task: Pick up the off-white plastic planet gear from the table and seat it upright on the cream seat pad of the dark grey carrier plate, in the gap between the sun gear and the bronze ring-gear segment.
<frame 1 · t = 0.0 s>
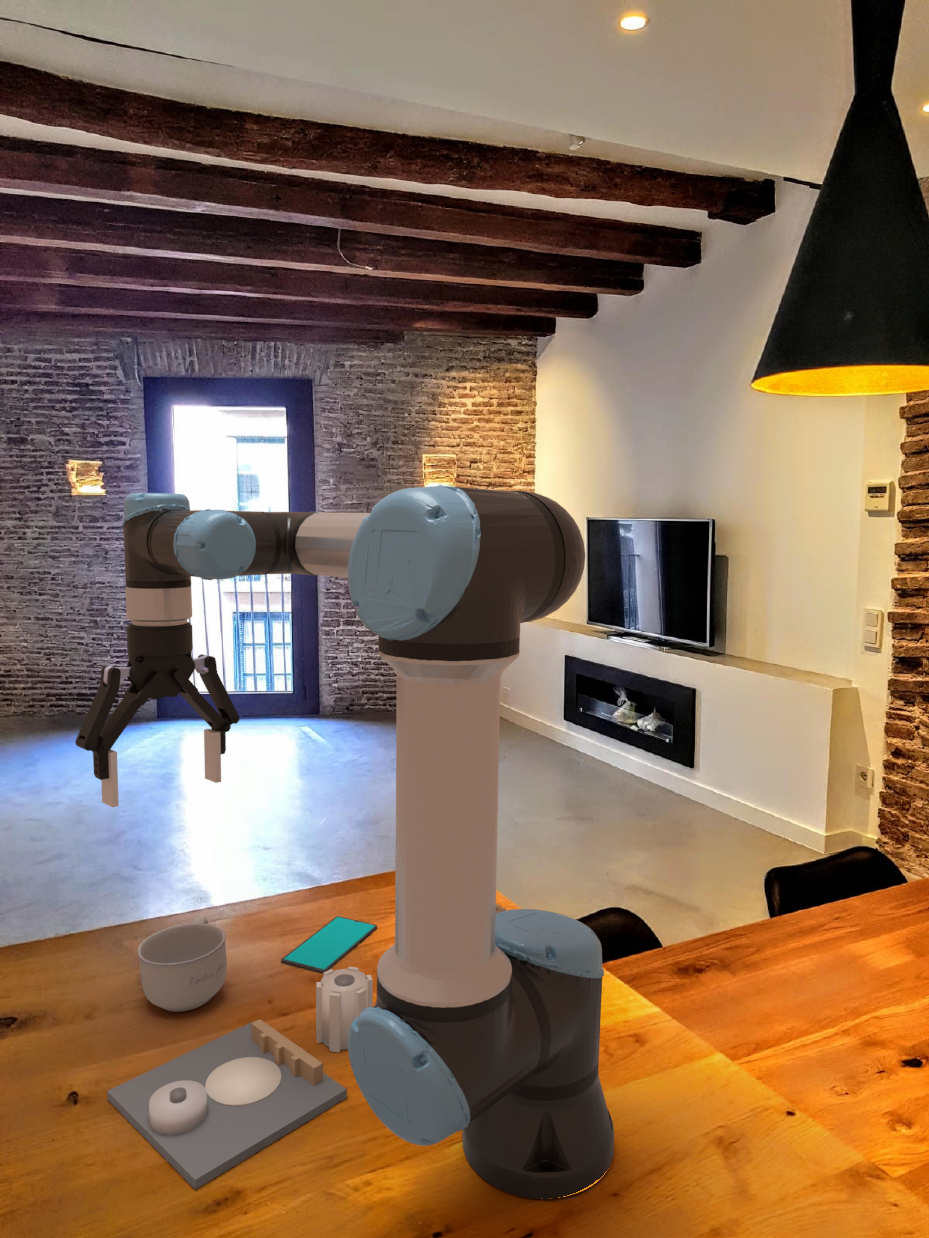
hand: (164, 791, 108), 28 cm above the table, tool pointing down, fingers open, 13 cm apart
teacup: (189, 993, 114), on the table
carrier plate: (227, 1098, 93), on the table
lion figurine: (457, 965, 122), on the table
smartphone: (331, 948, 127), on the table
planet gear: (344, 1035, 105), on the table
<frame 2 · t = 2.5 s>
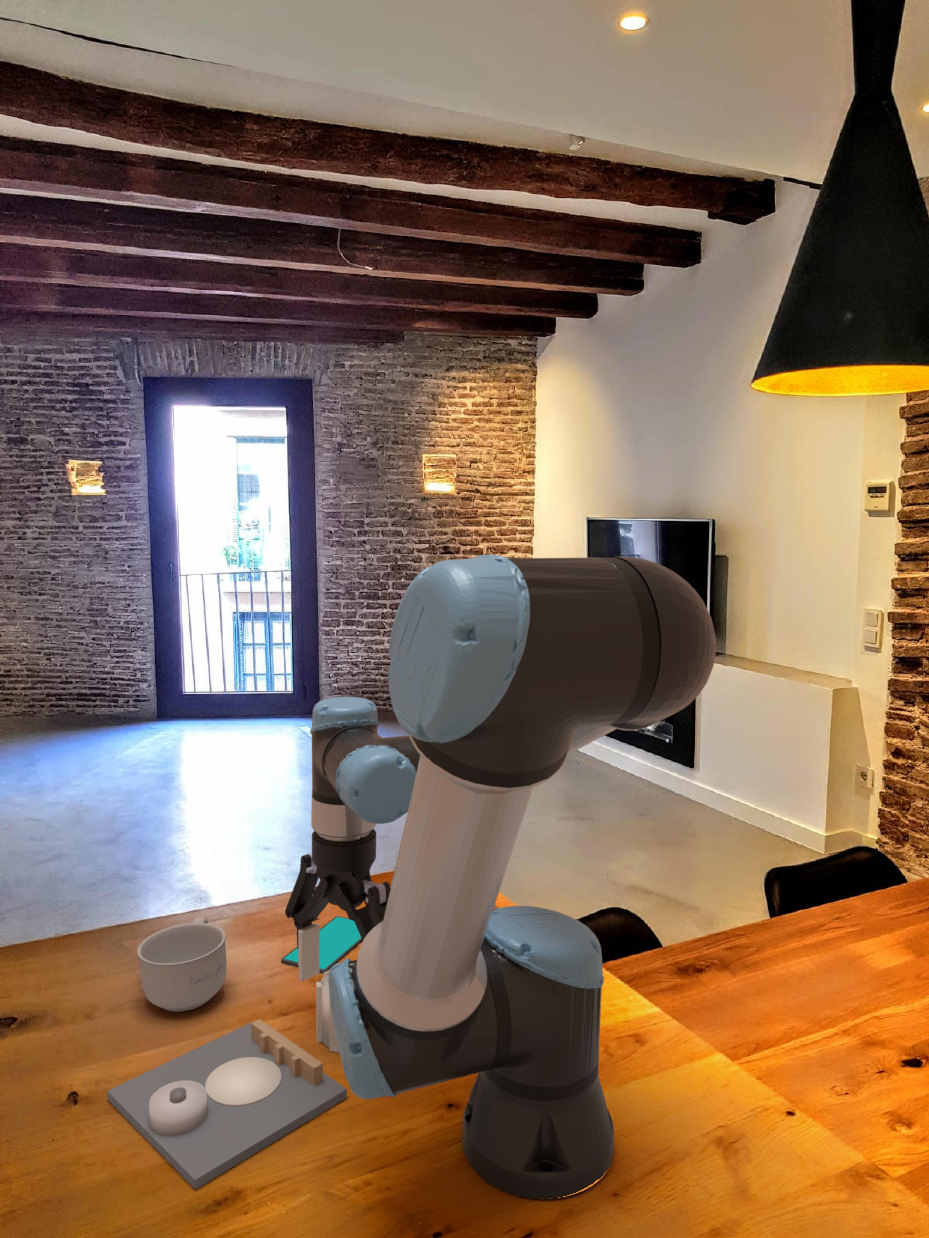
hand: (343, 998, 105), 5 cm above the table, tool pointing down, fingers open, 13 cm apart
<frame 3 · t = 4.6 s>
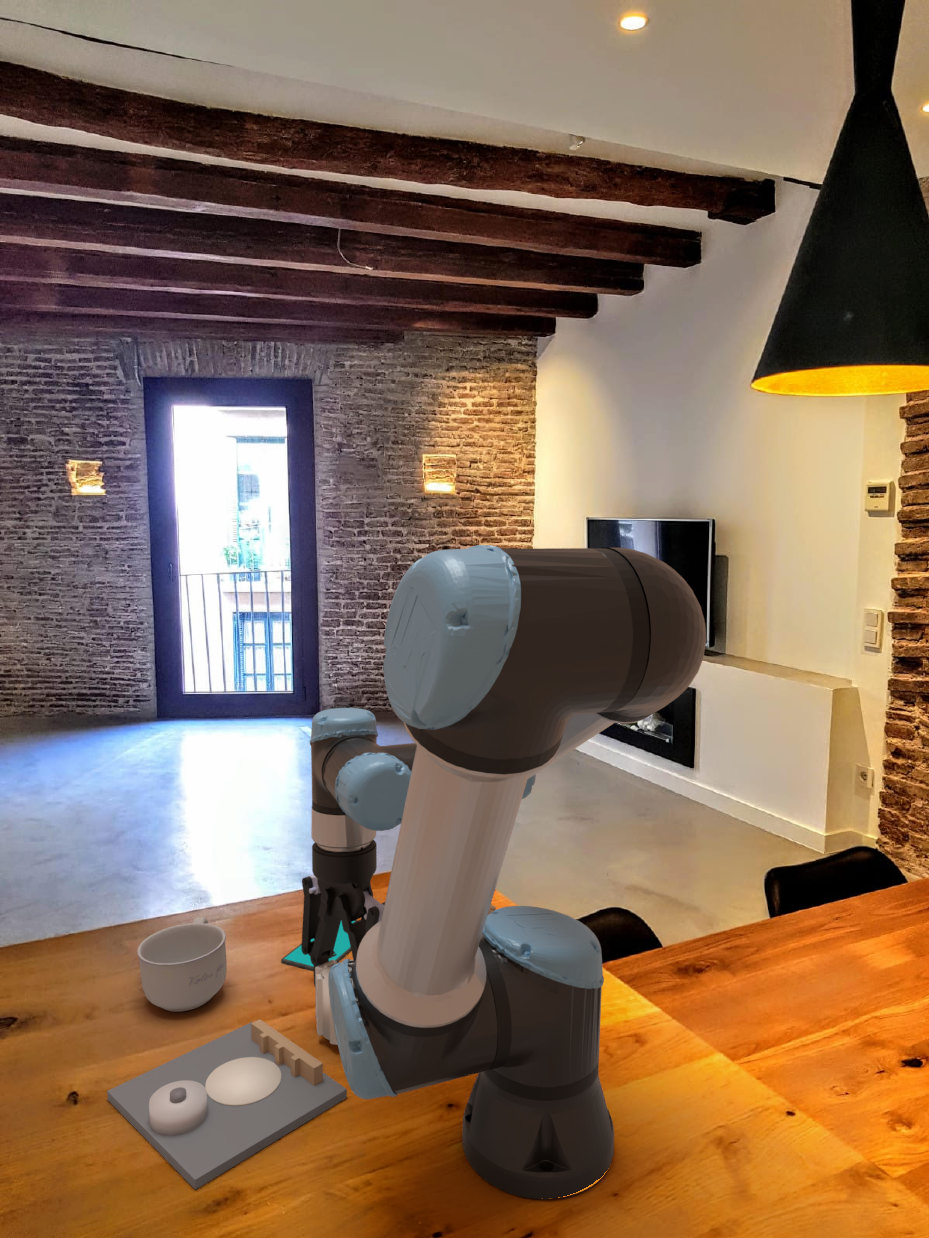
hand: (345, 1026, 104), 1 cm above the table, tool pointing down, fingers closed on planet gear, 7 cm apart
planet gear: (345, 1028, 104), point 1 cm above the table, touching gripper
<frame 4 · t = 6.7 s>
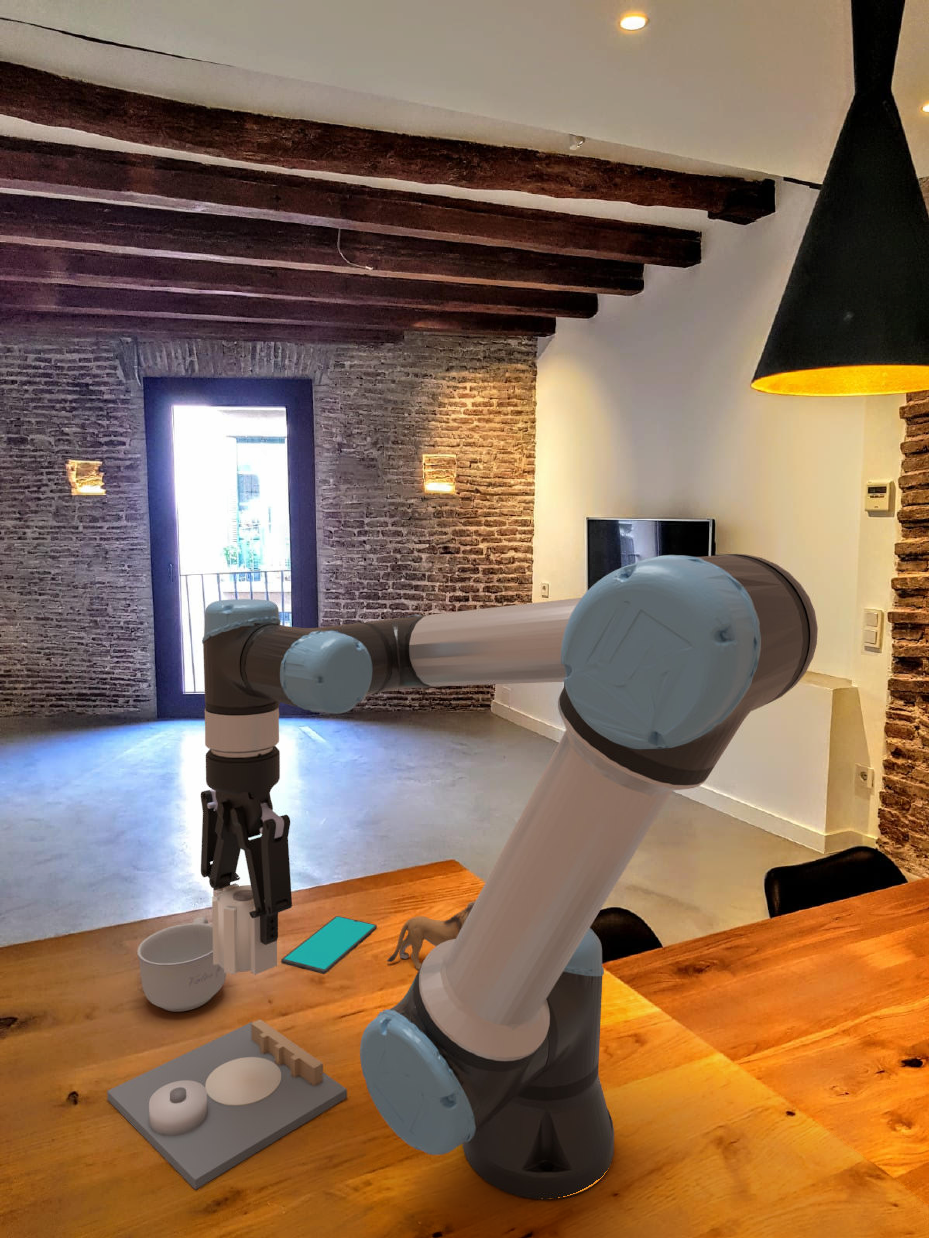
hand: (245, 955, 94), 15 cm above the table, tool pointing down, fingers closed on planet gear, 7 cm apart
planet gear: (244, 958, 94), point 15 cm above the table, touching gripper
when the fingers open (3 cm above the table, at t = 8.8 s): planet gear drops 1 cm, resting on carrier plate.
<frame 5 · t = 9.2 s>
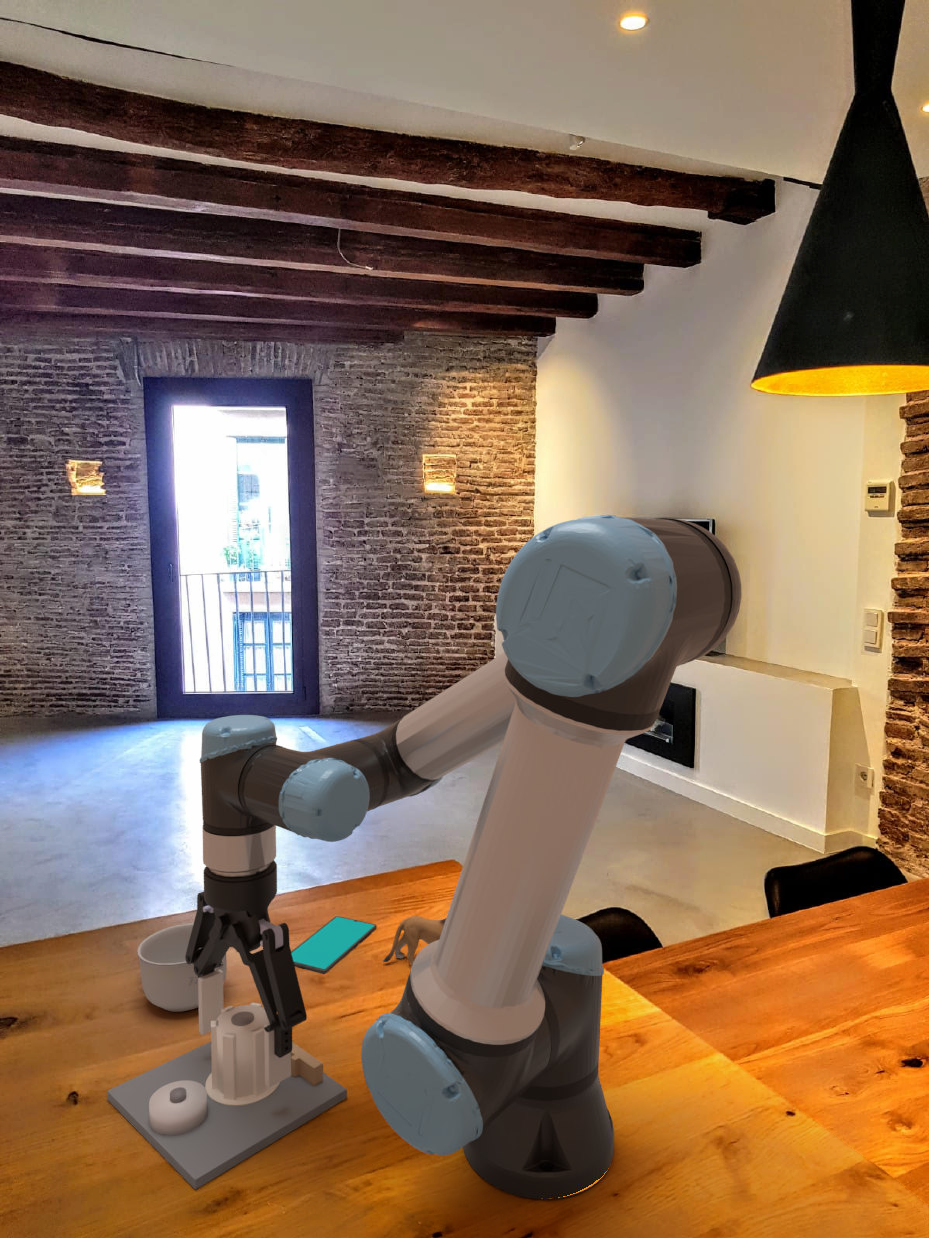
hand: (243, 1053, 94), 4 cm above the table, tool pointing down, fingers open, 12 cm apart
planet gear: (243, 1079, 95), point 1 cm above the table, touching carrier plate
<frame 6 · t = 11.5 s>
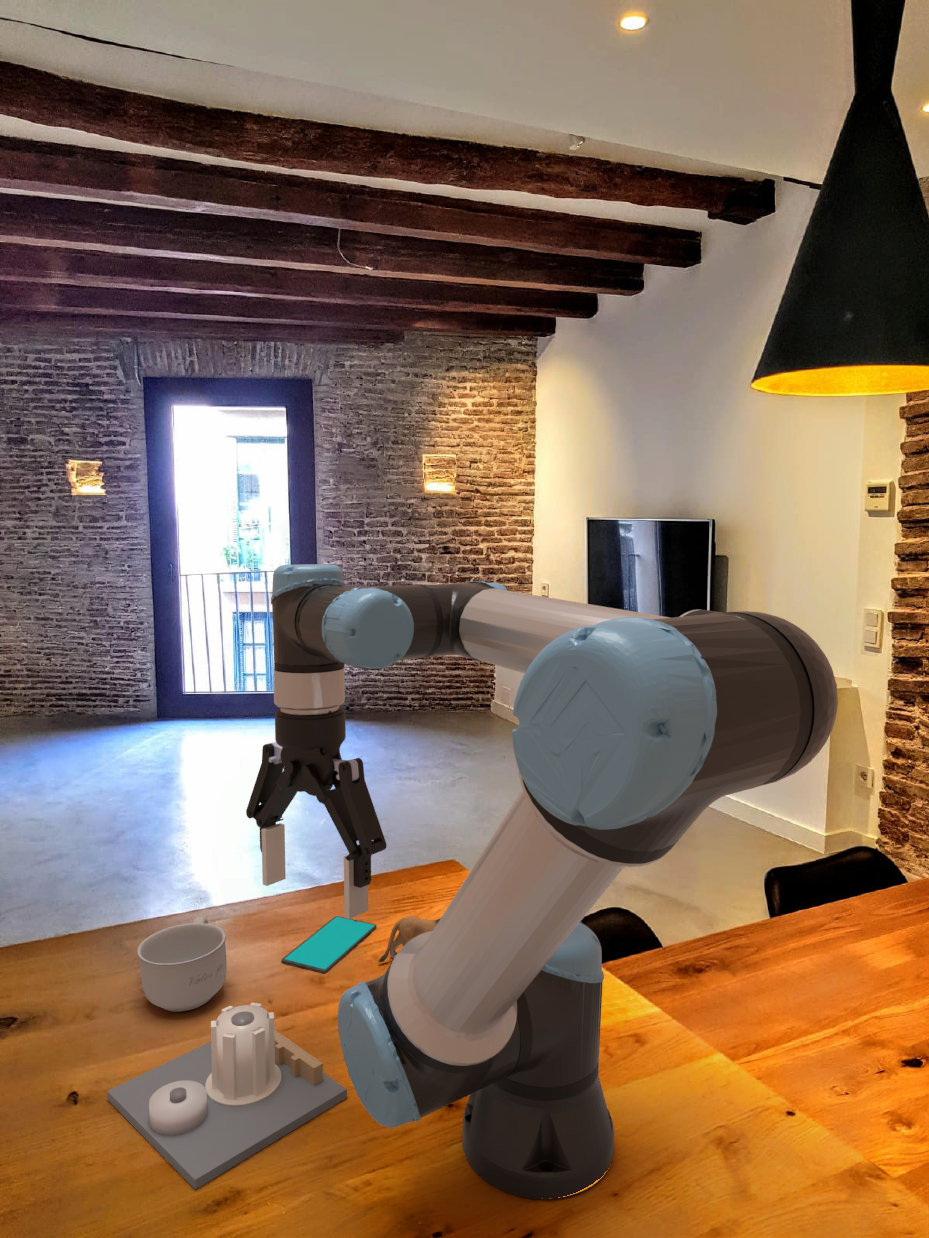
hand: (313, 897, 96), 20 cm above the table, tool pointing down, fingers open, 13 cm apart
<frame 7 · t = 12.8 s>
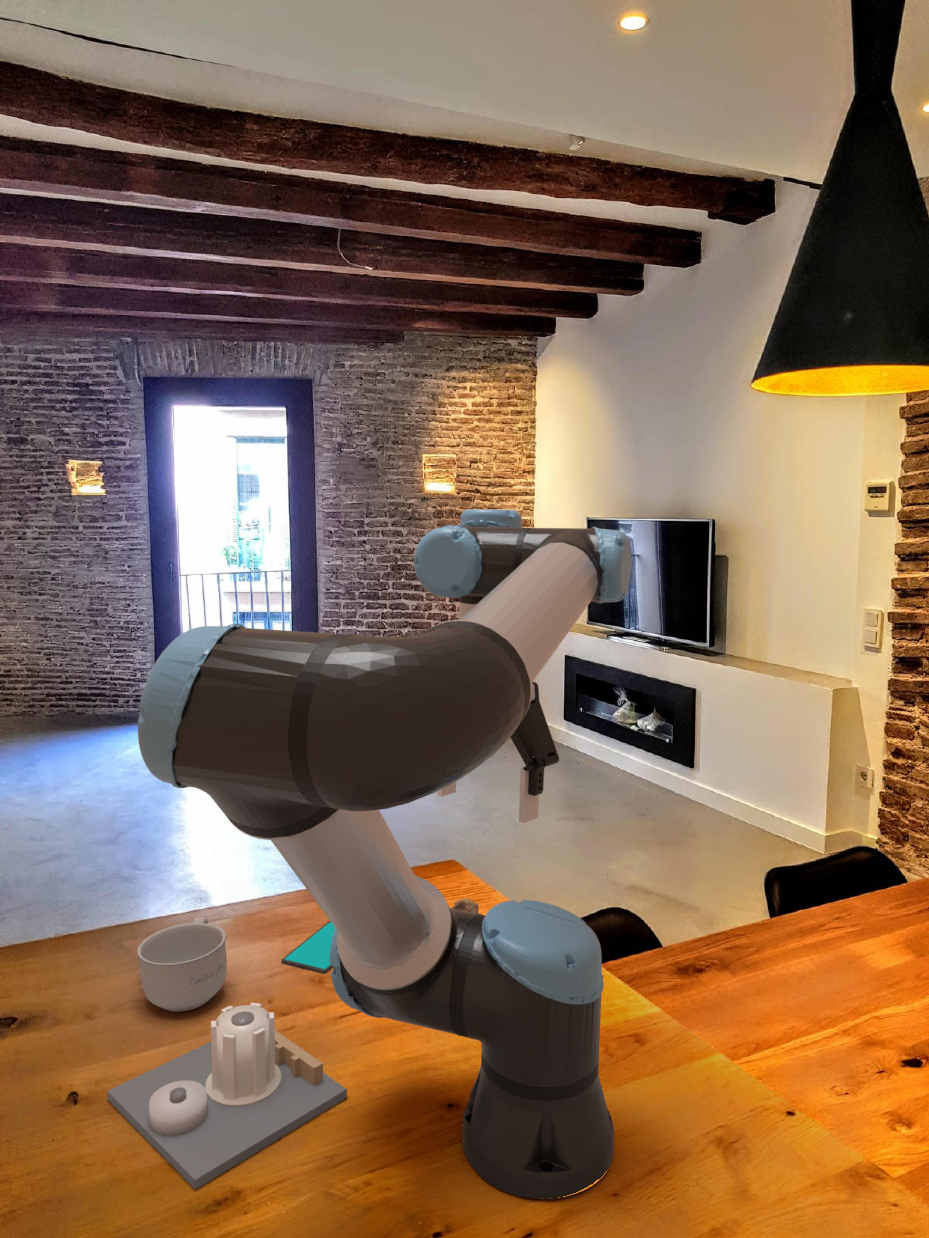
hand: (485, 806, 108), 27 cm above the table, tool pointing down, fingers open, 13 cm apart
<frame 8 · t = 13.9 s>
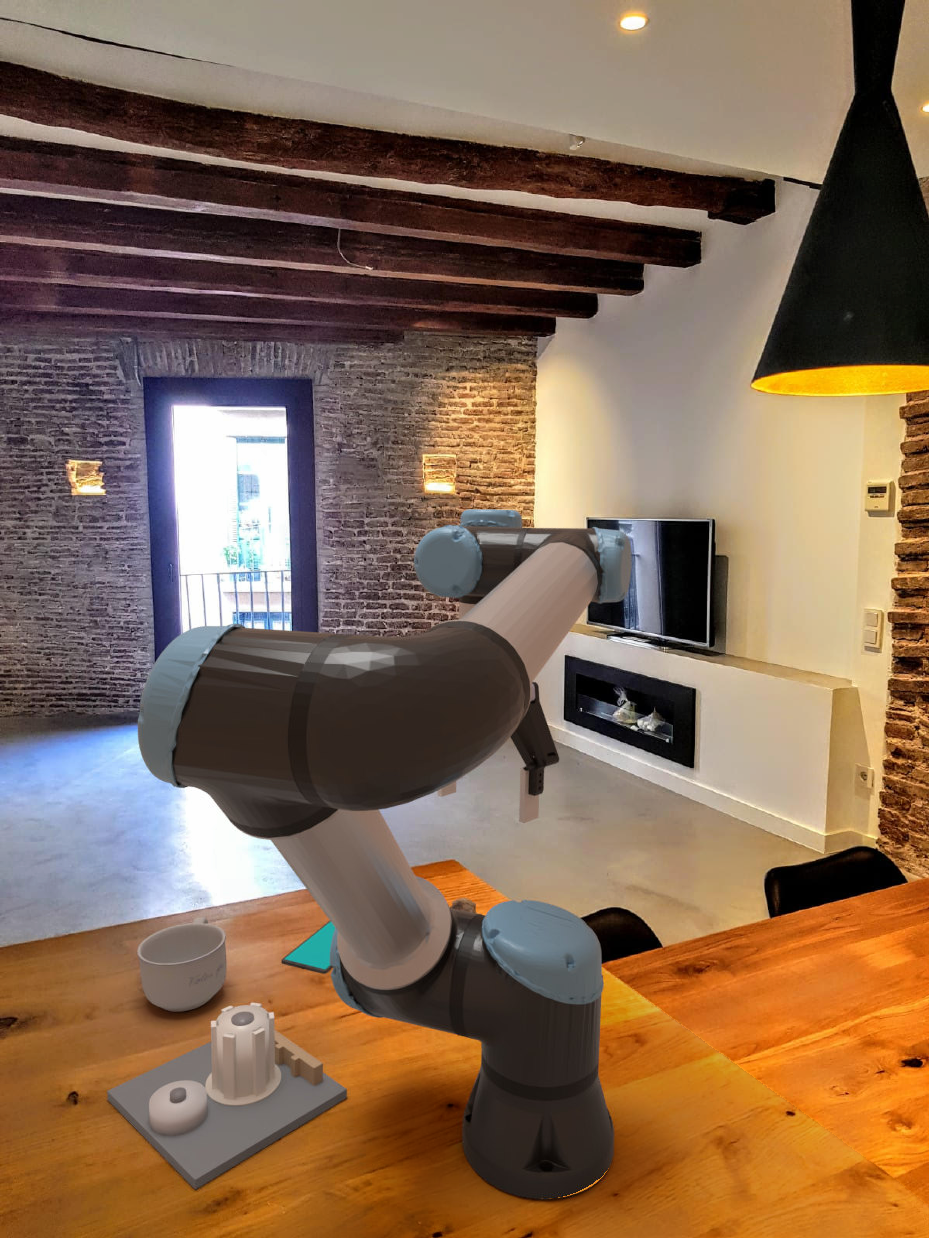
hand: (486, 806, 108), 27 cm above the table, tool pointing down, fingers open, 13 cm apart
at the end: planet gear 0.0 cm from the target spot on the carrier plate, point 1.2 cm above the carrier plate's base; planet gear tilted 0°; the gripper is holding nothing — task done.
